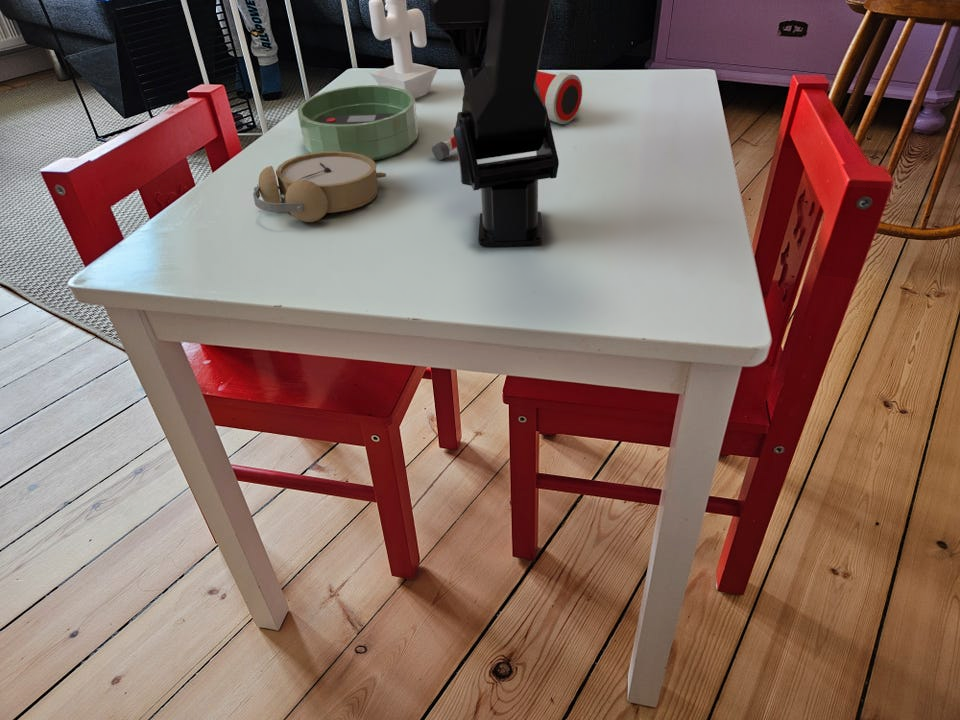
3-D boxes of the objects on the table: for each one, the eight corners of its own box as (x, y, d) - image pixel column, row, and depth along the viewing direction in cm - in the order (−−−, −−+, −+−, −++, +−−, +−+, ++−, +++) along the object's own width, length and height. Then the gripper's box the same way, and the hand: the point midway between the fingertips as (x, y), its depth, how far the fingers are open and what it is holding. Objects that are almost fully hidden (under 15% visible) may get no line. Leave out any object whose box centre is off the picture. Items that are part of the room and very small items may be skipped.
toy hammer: (471, 172, 85) (467, 120, 81) (405, 149, 92) (399, 100, 88) (583, 116, 98) (585, 69, 94) (518, 100, 104) (518, 55, 100)
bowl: (412, 162, 88) (407, 123, 85) (293, 166, 89) (284, 128, 86) (423, 119, 100) (420, 83, 97) (318, 122, 101) (311, 87, 98)
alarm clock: (398, 165, 81) (289, 191, 70) (398, 207, 83) (293, 237, 73) (335, 144, 87) (226, 164, 76) (336, 183, 89) (231, 208, 79)
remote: (403, 130, 96) (401, 111, 94) (399, 141, 92) (397, 122, 91) (323, 133, 96) (320, 114, 95) (317, 144, 93) (313, 125, 91)
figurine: (444, 90, 109) (436, -17, 100) (401, 108, 104) (388, -3, 94) (411, 82, 113) (400, -21, 104) (368, 100, 108) (352, -8, 98)
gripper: (391, -103, 75) (408, 51, 85) (363, -78, 60) (387, 104, 70) (496, -109, 74) (500, 47, 84) (492, -84, 60) (498, 100, 70)
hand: (471, 72), depth 77 cm, fingers open, 9 cm apart
